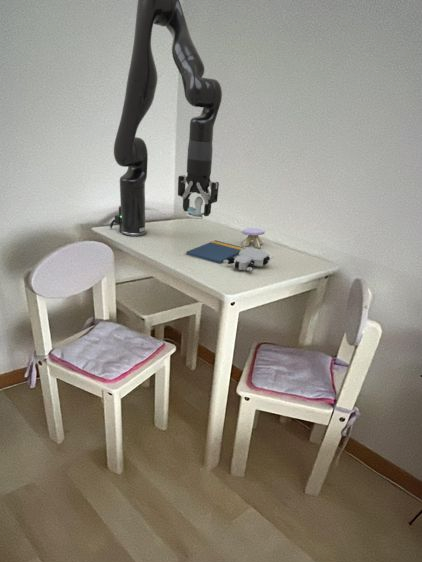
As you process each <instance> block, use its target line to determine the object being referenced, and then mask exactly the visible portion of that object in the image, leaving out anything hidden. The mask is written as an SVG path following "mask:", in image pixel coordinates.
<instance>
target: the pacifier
mask: <svg viewBox="0 0 422 562" xmlns="http://www.w3.org/2000/svg"><path fill="white" fill-rule="evenodd" d="M194 205H195V207H193V206H189V208H188V211H187V213H185V216H186V217H187V218H190V219H196V220H202V219H203V216H204V212H202V206H203V205H204V199H203V197H202V196H201V195H200V196H197V197H195V200H194Z"/></svg>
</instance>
